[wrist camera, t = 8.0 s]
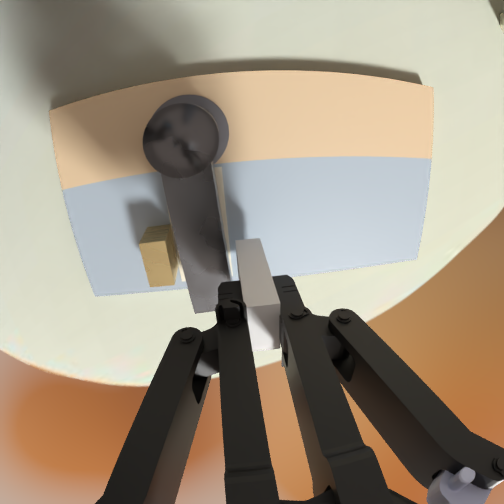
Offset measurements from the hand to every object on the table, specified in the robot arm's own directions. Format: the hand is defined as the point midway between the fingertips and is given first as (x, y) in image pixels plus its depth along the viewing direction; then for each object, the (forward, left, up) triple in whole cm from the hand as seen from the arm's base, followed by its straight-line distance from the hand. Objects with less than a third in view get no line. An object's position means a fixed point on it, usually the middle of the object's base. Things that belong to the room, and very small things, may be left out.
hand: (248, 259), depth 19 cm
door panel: (+1, +4, -3) cm, 5 cm away
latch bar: (-3, +4, -1) cm, 5 cm away
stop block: (-6, +1, -2) cm, 6 cm away
